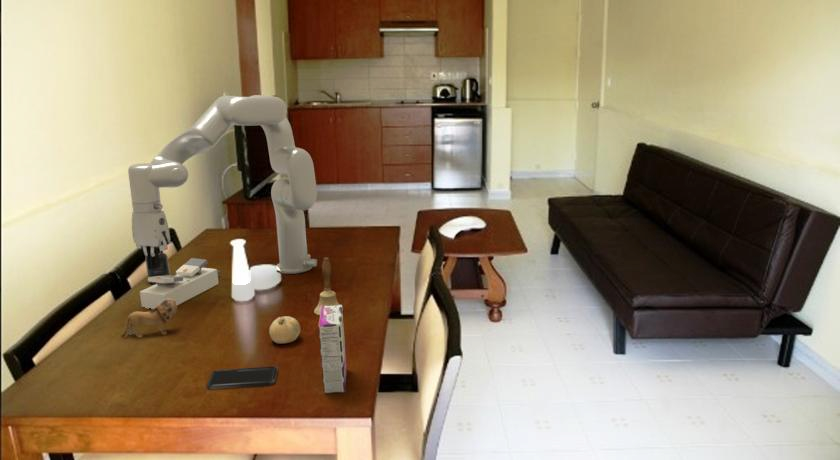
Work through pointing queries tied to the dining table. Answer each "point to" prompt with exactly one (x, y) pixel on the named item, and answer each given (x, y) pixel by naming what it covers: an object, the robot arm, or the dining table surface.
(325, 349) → the candy bar box
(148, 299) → the strip
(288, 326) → the onion
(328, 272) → the hand bell
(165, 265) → the supplement bottle
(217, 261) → the dining table surface
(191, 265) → the rocker
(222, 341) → the dining table surface
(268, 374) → the phone
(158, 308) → the lion figurine
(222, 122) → the robot arm
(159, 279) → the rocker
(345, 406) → the dining table surface
